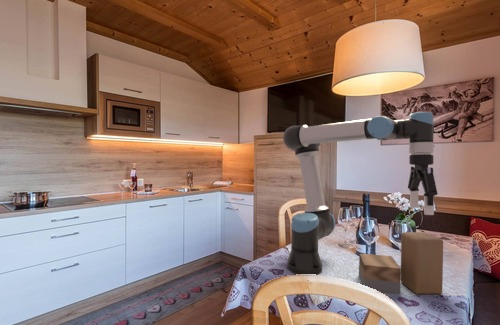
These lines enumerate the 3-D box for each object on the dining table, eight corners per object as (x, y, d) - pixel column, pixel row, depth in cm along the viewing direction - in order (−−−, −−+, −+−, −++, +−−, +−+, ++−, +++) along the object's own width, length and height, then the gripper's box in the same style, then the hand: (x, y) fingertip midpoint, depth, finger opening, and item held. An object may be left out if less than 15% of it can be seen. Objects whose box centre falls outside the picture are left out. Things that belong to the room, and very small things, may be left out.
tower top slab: (364, 278, 97) (364, 264, 97) (359, 265, 108) (359, 253, 108) (400, 282, 94) (400, 268, 94) (391, 268, 106) (391, 256, 105)
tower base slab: (364, 291, 97) (364, 278, 97) (358, 277, 109) (358, 265, 109) (400, 295, 94) (400, 281, 94) (390, 280, 106) (390, 268, 106)
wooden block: (424, 281, 104) (425, 231, 104) (443, 294, 94) (444, 239, 94) (399, 282, 104) (400, 231, 103) (416, 295, 94) (417, 239, 93)
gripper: (449, 153, 85) (449, 218, 86) (419, 154, 109) (419, 205, 110) (423, 153, 87) (423, 217, 87) (399, 154, 111) (399, 204, 112)
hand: (421, 210), depth 99 cm, fingers open, 13 cm apart
